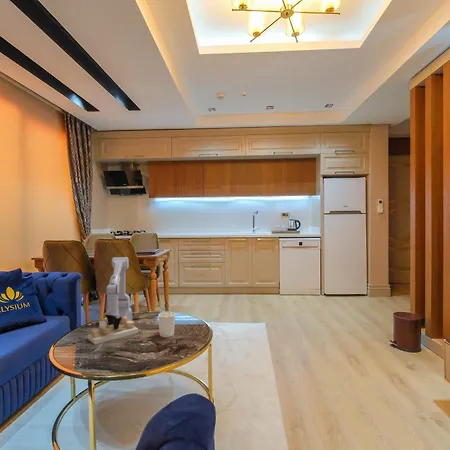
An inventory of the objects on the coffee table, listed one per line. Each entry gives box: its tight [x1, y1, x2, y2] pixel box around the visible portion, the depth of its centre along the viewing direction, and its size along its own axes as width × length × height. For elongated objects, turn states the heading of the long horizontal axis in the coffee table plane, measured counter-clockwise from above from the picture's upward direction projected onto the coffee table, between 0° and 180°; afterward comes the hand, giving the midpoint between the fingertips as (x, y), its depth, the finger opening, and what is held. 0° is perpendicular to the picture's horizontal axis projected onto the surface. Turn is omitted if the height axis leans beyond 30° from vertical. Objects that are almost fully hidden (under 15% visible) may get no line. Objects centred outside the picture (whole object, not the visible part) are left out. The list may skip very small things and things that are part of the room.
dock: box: [87, 326, 139, 345], centre depth 187 cm, size 26×11×3 cm, turn 131°
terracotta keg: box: [120, 316, 127, 324], centre depth 191 cm, size 4×4×4 cm
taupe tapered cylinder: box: [98, 319, 108, 329], centre depth 183 cm, size 4×4×4 cm
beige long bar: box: [90, 319, 136, 338], centre depth 187 cm, size 24×5×4 cm, turn 132°
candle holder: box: [157, 311, 176, 338], centre depth 188 cm, size 10×10×12 cm
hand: (113, 327), depth 187 cm, fingers open, 7 cm apart
